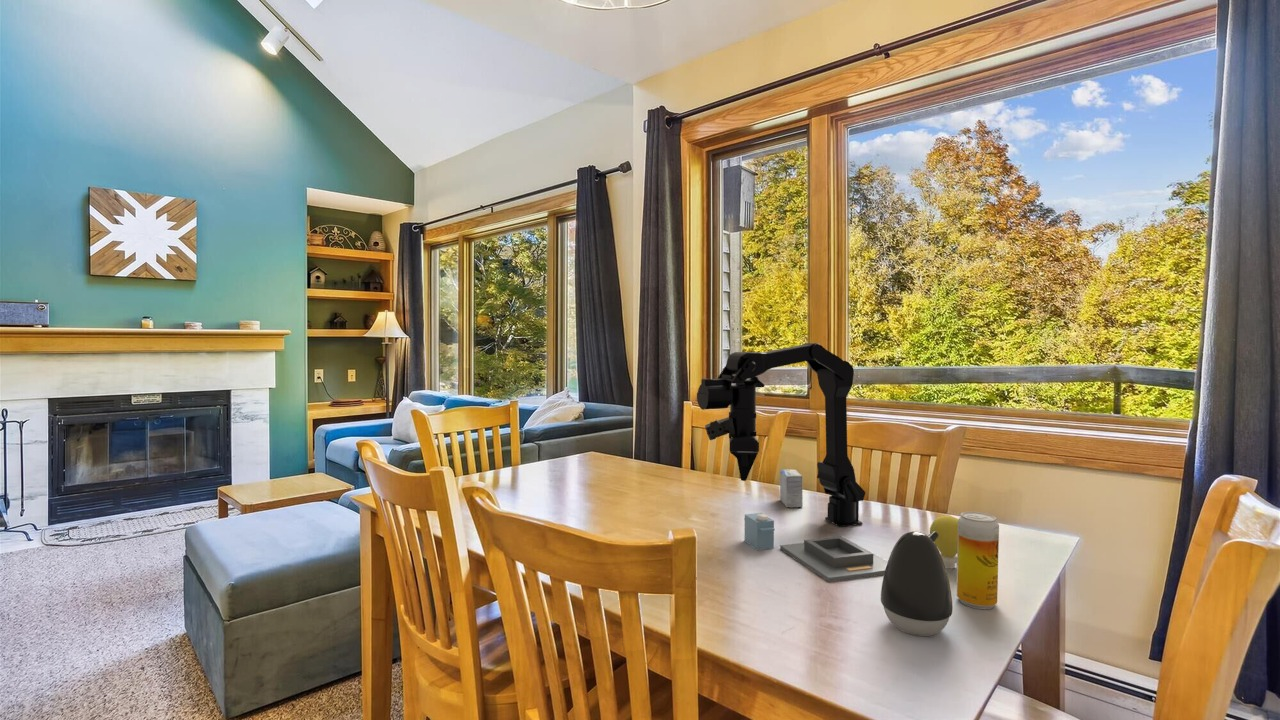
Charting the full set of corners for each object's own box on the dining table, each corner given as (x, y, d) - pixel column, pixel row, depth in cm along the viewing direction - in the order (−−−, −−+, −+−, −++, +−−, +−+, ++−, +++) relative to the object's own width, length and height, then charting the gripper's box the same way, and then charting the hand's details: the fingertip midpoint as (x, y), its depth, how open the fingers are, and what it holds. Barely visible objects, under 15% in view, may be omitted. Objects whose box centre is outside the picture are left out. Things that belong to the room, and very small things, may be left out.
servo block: (758, 537, 136) (758, 507, 136) (776, 550, 128) (776, 518, 128) (742, 539, 135) (742, 509, 135) (759, 552, 127) (759, 520, 127)
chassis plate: (844, 541, 133) (845, 529, 133) (901, 572, 116) (901, 558, 116) (780, 548, 129) (780, 536, 129) (828, 582, 111) (828, 567, 111)
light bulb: (965, 563, 121) (966, 513, 120) (968, 575, 114) (969, 523, 114) (928, 558, 123) (929, 509, 123) (929, 569, 117) (930, 519, 117)
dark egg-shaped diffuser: (966, 632, 93) (968, 535, 92) (927, 651, 87) (929, 548, 86) (905, 607, 101) (907, 518, 100) (866, 623, 95) (867, 529, 95)
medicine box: (802, 508, 159) (803, 475, 159) (785, 508, 159) (786, 475, 159) (795, 500, 167) (795, 469, 167) (779, 500, 167) (779, 469, 167)
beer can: (996, 614, 99) (998, 523, 98) (955, 605, 102) (956, 517, 101) (997, 600, 104) (999, 514, 103) (957, 592, 107) (959, 508, 106)
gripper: (708, 402, 146) (708, 465, 147) (706, 412, 128) (706, 485, 129) (754, 402, 145) (754, 467, 146) (759, 413, 126) (759, 486, 127)
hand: (742, 475), depth 137 cm, fingers open, 9 cm apart
